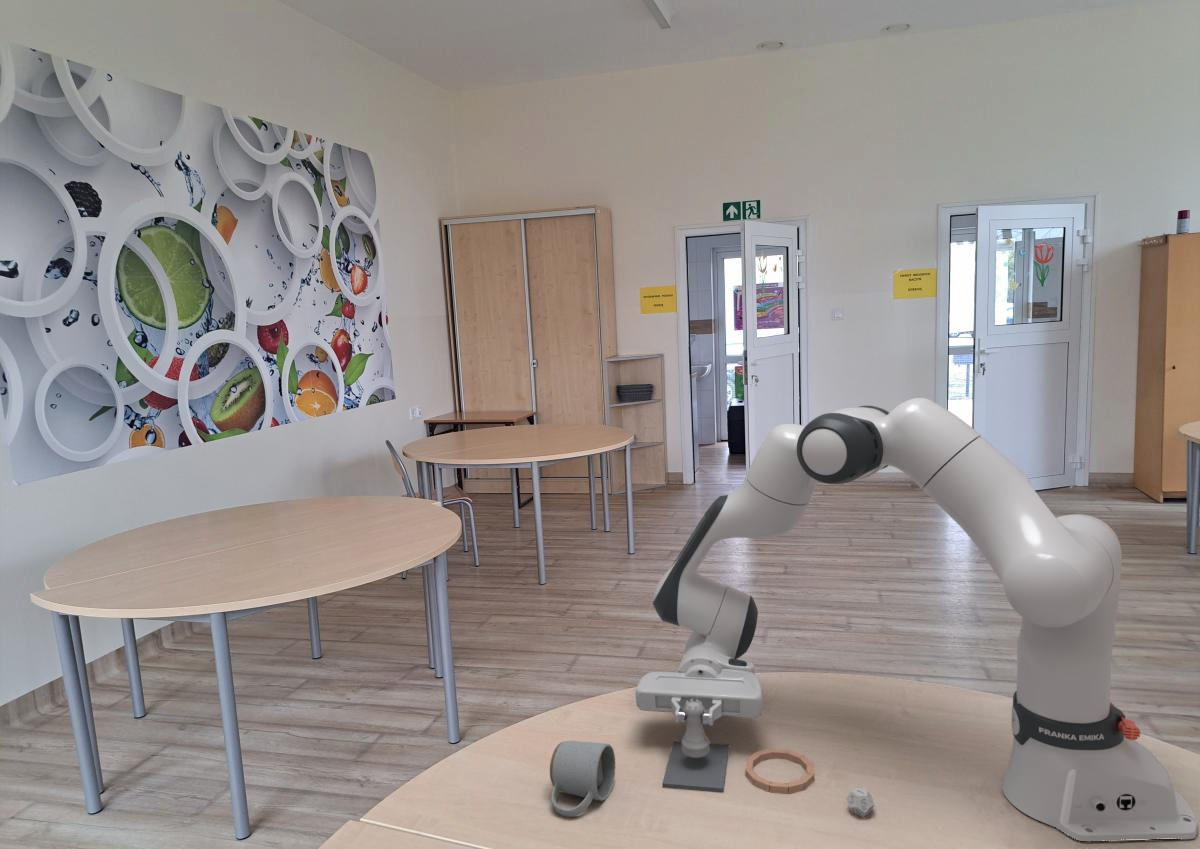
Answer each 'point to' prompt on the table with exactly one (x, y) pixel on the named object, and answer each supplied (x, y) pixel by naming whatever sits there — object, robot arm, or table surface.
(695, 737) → the rook chess piece
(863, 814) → the game die
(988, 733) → the table surface
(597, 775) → the ceramic mug
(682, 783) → the charcoal mat
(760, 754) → the terracotta ring
